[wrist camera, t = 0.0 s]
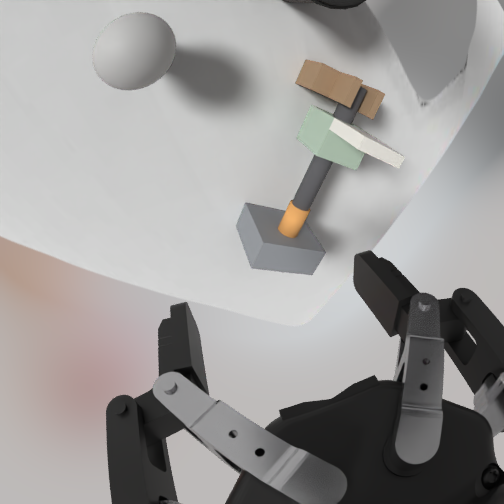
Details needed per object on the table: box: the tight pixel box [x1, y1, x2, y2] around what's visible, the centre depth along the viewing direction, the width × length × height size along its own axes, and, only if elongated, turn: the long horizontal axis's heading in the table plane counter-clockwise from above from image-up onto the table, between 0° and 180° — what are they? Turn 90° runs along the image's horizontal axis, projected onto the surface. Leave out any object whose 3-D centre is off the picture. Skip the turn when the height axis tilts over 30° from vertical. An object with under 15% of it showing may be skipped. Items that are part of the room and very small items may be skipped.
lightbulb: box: [92, 12, 176, 90], centre depth 18 cm, size 6×6×11 cm
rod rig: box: [236, 60, 385, 275], centre depth 32 cm, size 23×8×8 cm, turn 159°
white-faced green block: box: [297, 105, 405, 170], centre depth 26 cm, size 4×5×10 cm
